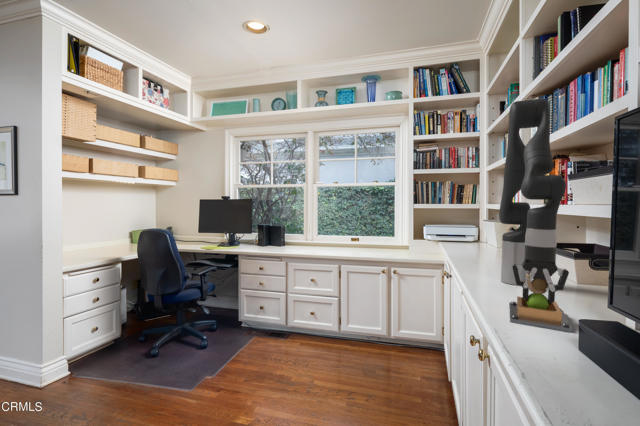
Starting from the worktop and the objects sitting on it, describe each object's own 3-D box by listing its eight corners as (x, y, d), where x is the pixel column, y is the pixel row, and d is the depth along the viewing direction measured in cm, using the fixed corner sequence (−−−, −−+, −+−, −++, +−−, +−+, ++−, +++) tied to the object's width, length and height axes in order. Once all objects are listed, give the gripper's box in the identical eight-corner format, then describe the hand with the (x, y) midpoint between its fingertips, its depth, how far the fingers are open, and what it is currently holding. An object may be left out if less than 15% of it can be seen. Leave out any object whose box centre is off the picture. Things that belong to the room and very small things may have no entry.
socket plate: (509, 305, 105) (509, 293, 104) (562, 313, 98) (563, 300, 98) (510, 321, 91) (510, 308, 91) (572, 332, 84) (573, 317, 84)
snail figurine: (518, 307, 97) (521, 268, 97) (540, 308, 97) (542, 269, 96) (529, 314, 92) (532, 273, 91) (552, 315, 92) (555, 273, 91)
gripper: (568, 244, 93) (566, 302, 94) (511, 240, 100) (509, 294, 101) (573, 248, 86) (570, 310, 87) (511, 243, 94) (509, 301, 94)
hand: (537, 301), depth 94 cm, fingers closed on snail figurine, 5 cm apart
